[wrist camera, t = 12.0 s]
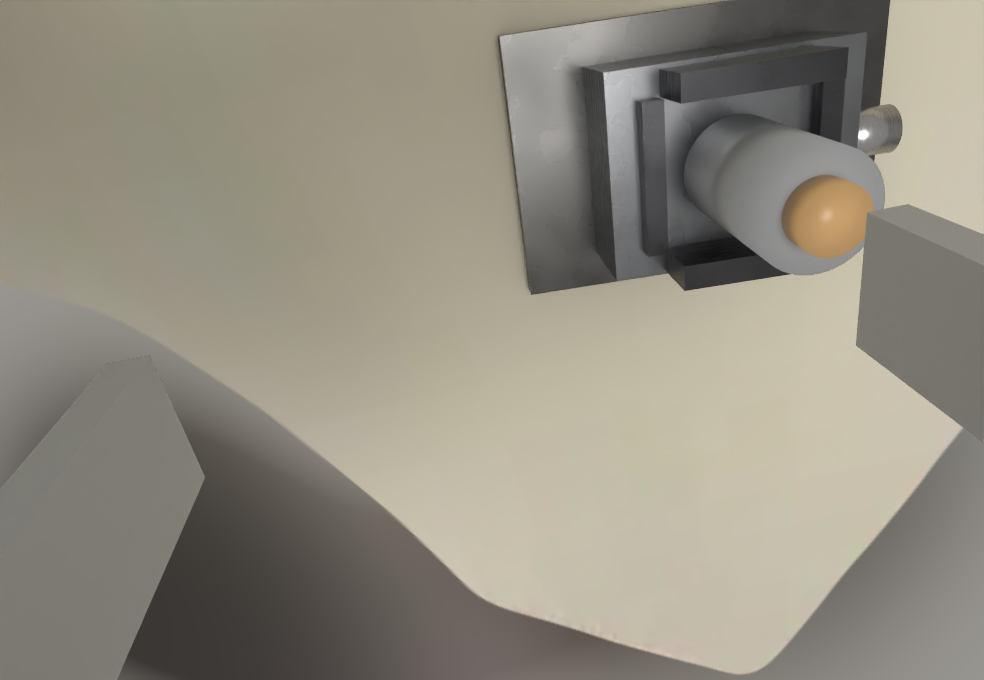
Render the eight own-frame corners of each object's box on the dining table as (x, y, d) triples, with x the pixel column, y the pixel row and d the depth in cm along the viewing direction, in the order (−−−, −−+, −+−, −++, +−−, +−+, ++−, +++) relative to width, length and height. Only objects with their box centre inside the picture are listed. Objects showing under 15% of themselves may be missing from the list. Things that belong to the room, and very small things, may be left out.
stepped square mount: (529, 288, 41) (552, 354, 33) (498, 36, 35) (516, 39, 27) (856, 237, 41) (960, 289, 33) (880, -23, 35) (1014, -38, 27)
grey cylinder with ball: (682, 224, 34) (761, 293, 25) (685, 119, 32) (772, 158, 23) (782, 213, 34) (892, 278, 26) (791, 107, 32) (916, 142, 23)
